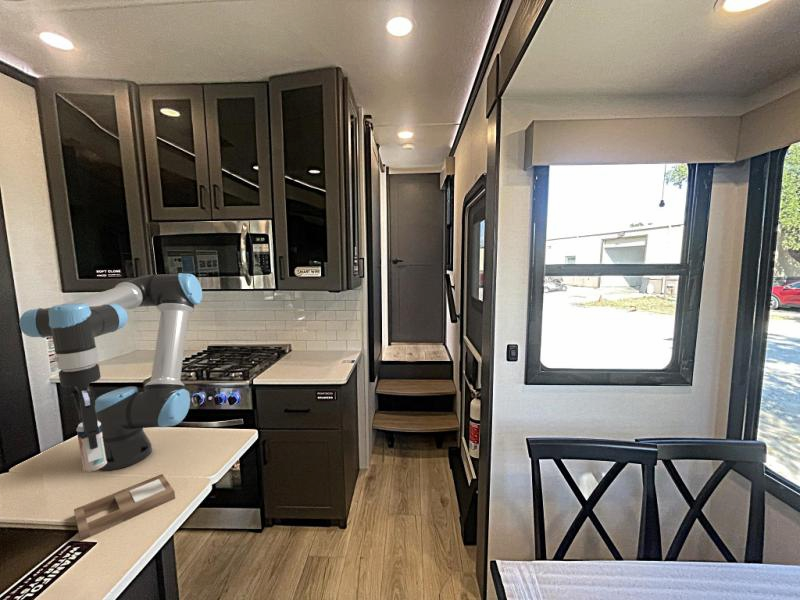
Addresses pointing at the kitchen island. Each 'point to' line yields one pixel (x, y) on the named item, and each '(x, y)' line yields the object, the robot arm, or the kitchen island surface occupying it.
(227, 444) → the kitchen island surface
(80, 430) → the beer can
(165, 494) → the pocket board
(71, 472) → the kitchen island surface
